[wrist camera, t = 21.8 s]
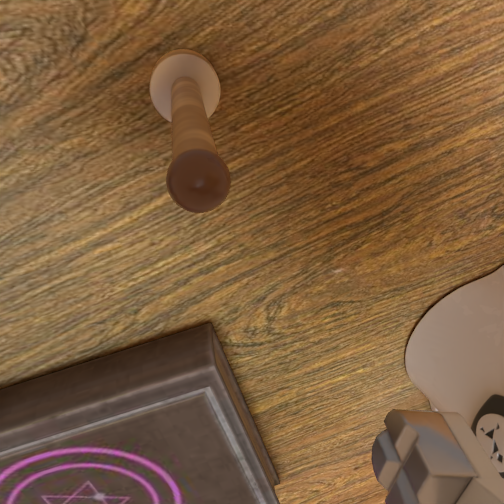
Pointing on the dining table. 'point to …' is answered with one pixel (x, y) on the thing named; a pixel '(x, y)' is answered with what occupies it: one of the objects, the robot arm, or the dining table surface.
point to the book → (135, 431)
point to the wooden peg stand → (190, 129)
